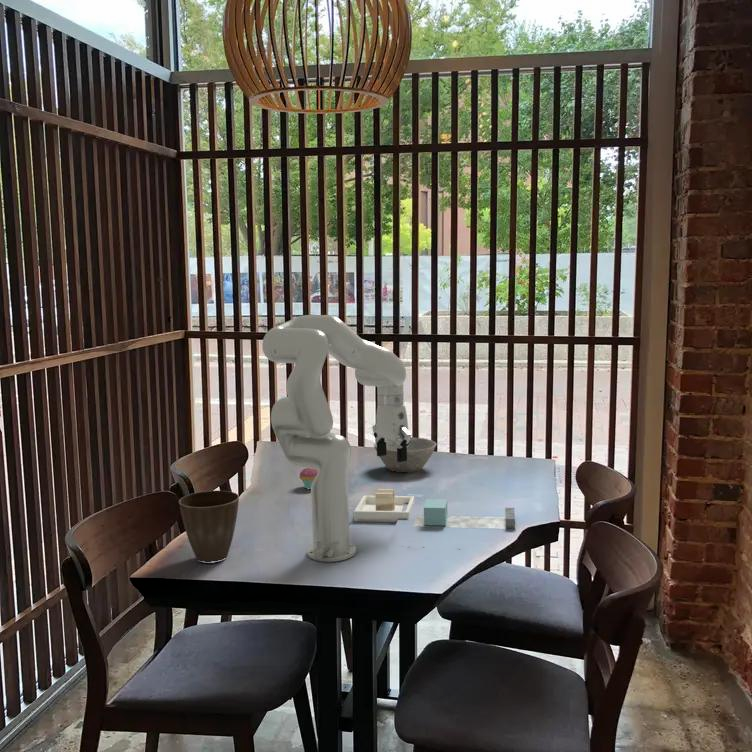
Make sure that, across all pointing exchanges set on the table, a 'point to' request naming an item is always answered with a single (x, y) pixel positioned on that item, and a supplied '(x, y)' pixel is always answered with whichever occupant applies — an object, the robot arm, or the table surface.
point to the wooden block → (385, 500)
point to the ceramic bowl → (408, 454)
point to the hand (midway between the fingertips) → (391, 458)
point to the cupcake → (308, 476)
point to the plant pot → (210, 522)
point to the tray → (369, 513)
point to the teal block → (435, 512)
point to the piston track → (474, 521)
